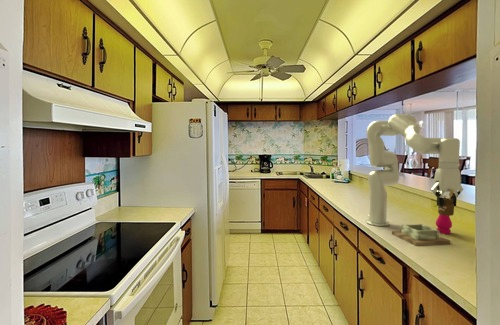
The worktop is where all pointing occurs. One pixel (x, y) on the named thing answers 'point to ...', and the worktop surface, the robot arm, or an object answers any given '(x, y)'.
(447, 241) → the collar stand
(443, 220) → the pepper mill
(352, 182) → the worktop surface
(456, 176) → the robot arm
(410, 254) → the worktop surface
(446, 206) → the utensil holder
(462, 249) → the worktop surface
